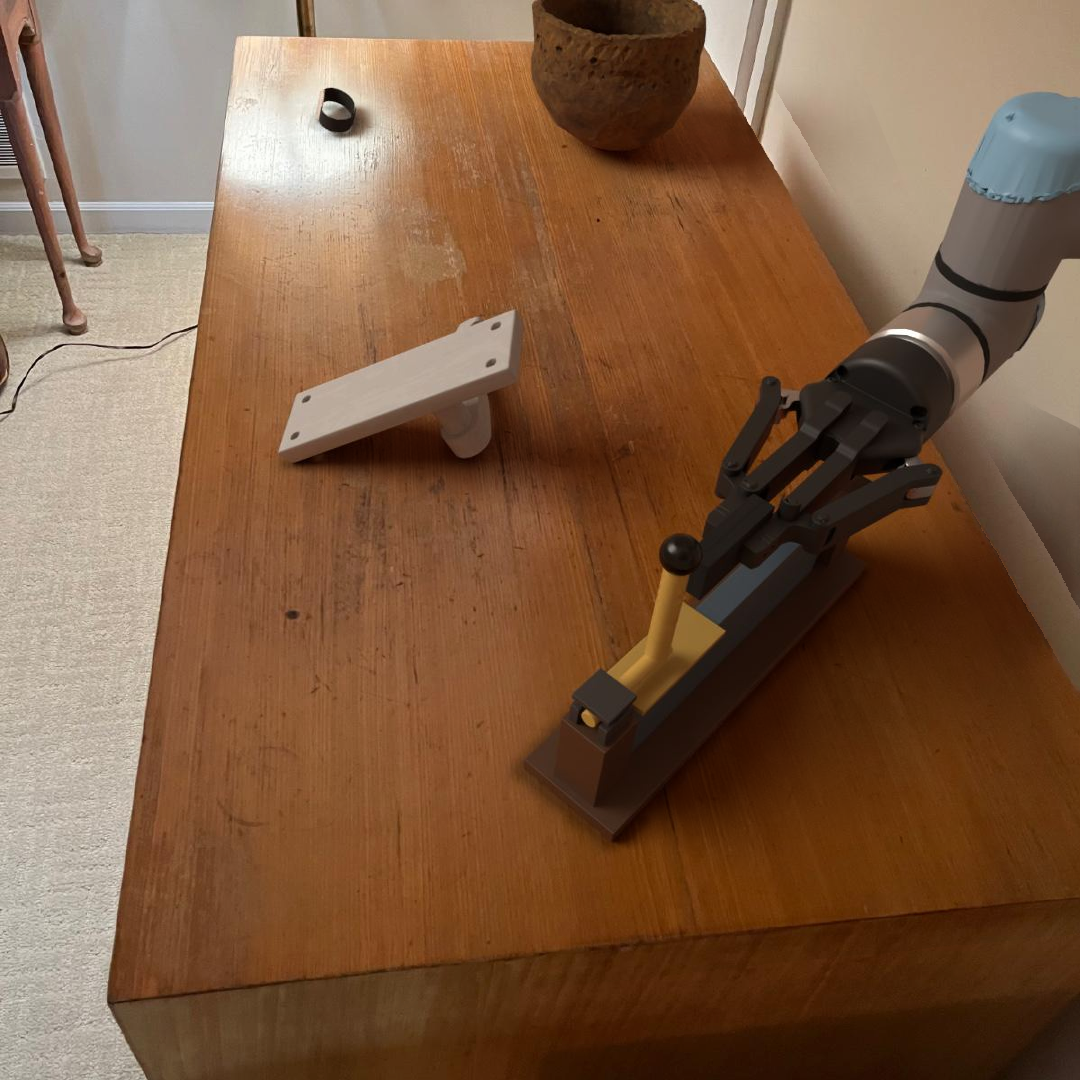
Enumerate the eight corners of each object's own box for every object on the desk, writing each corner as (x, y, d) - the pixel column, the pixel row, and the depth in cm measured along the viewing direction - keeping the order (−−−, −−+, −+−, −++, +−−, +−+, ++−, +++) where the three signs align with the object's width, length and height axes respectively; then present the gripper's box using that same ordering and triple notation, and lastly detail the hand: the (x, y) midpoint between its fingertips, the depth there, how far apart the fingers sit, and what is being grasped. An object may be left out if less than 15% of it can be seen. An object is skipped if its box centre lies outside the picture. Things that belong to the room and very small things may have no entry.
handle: (337, 518, 83) (559, 446, 75) (276, 452, 77) (508, 367, 70) (372, 379, 94) (568, 304, 87) (321, 313, 89) (524, 227, 82)
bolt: (651, 639, 59) (679, 517, 52) (681, 660, 58) (714, 540, 51) (571, 713, 56) (590, 593, 48) (602, 737, 55) (626, 619, 47)
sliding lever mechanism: (782, 523, 78) (815, 429, 71) (863, 572, 75) (905, 480, 68) (522, 767, 62) (531, 678, 55) (611, 842, 59) (632, 758, 52)
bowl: (528, 97, 124) (535, -36, 113) (681, 110, 125) (703, -22, 114) (520, 172, 112) (528, 30, 101) (690, 186, 112) (716, 46, 101)
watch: (317, 106, 119) (313, 75, 117) (357, 106, 120) (355, 75, 117) (314, 137, 114) (310, 105, 112) (356, 137, 115) (354, 106, 112)
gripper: (969, 475, 68) (778, 687, 55) (802, 385, 73) (593, 559, 61) (1015, 386, 62) (814, 599, 50) (831, 296, 68) (607, 467, 55)
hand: (693, 577), depth 55 cm, fingers closed
